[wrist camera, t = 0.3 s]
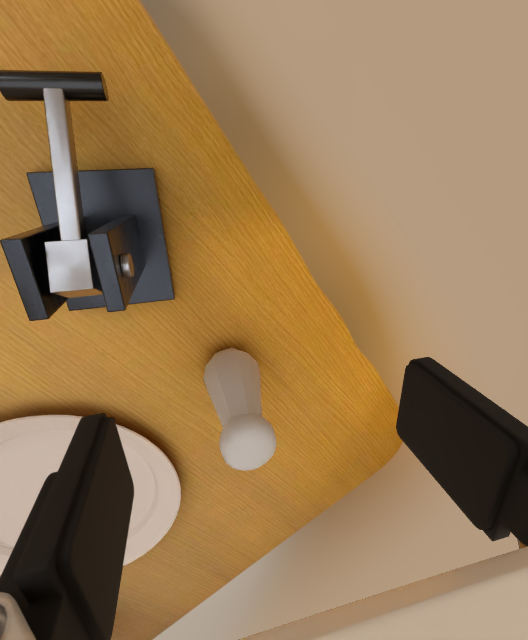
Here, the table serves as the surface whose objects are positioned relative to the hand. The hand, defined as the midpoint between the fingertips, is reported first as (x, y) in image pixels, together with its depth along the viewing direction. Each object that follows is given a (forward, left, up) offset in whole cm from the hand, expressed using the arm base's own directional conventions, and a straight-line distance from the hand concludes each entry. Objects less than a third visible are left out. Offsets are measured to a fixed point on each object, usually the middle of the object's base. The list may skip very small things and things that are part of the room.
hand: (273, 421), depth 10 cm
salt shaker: (+11, 0, -23) cm, 25 cm away
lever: (-7, -9, -16) cm, 19 cm away
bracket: (-3, -9, -22) cm, 24 cm away
